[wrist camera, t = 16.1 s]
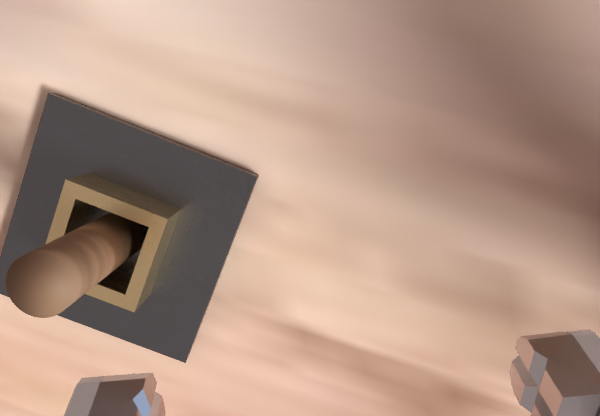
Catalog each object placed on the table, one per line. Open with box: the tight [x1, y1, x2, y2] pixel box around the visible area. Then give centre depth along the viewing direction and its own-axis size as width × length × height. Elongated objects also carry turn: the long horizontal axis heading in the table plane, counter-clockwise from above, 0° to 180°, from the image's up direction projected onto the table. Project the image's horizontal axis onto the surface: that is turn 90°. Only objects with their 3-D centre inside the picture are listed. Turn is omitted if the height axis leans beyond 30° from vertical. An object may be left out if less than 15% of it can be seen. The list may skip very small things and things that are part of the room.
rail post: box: [6, 213, 144, 318], centre depth 31 cm, size 4×4×11 cm
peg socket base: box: [0, 93, 259, 363], centre depth 35 cm, size 16×16×4 cm
